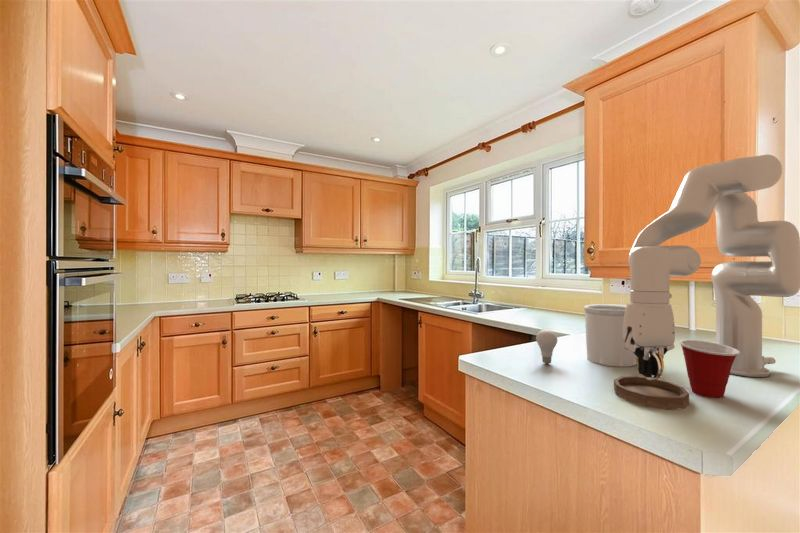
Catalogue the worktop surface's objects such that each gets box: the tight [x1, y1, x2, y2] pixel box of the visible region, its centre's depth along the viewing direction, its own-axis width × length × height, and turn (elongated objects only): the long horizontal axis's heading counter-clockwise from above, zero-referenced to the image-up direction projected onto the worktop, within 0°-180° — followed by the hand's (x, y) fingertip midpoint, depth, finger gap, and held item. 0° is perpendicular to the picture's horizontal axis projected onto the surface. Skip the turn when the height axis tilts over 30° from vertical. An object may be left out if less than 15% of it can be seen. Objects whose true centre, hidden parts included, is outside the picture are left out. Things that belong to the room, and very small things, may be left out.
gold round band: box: [636, 347, 665, 380], centre depth 81 cm, size 7×3×8 cm, turn 178°
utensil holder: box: [583, 303, 637, 368], centre depth 110 cm, size 15×15×18 cm
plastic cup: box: [679, 339, 740, 399], centre depth 82 cm, size 11×11×12 cm
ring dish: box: [613, 375, 690, 411], centre depth 81 cm, size 14×14×2 cm
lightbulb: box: [535, 329, 558, 365], centre depth 107 cm, size 6×6×11 cm
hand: (649, 374), depth 81 cm, fingers closed on gold round band, 1 cm apart
